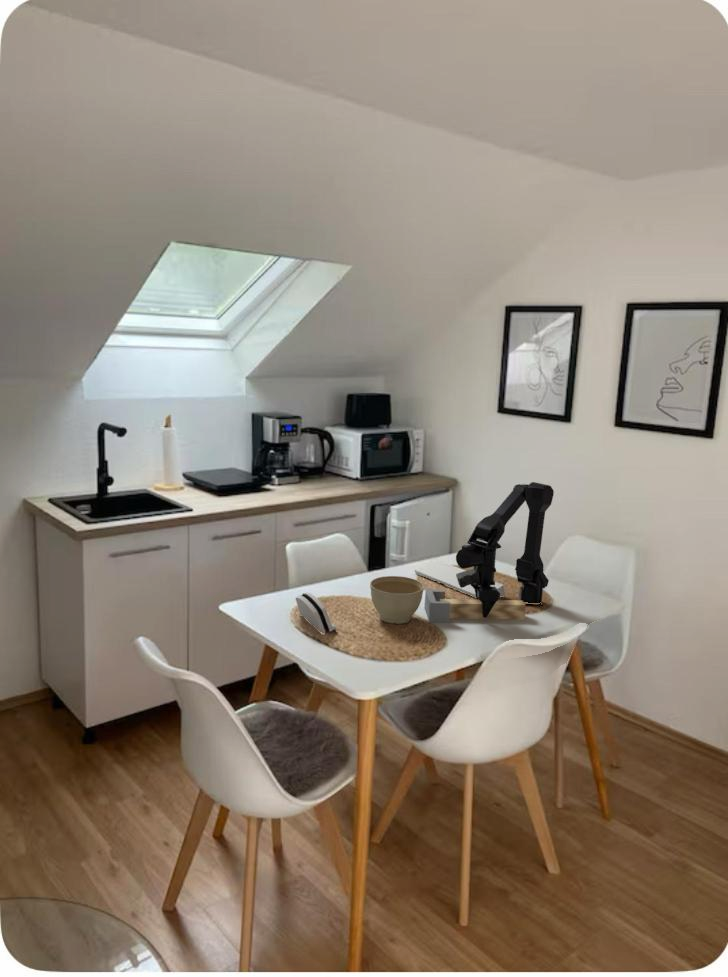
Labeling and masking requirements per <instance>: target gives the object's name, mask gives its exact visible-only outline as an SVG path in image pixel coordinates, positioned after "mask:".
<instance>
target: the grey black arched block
mask: <svg viewBox="0 0 728 977" xmlns="http://www.w3.org/2000/svg"><path fill="white" fill-rule="evenodd" d="M295 601H296V604H297V607H298V612H299V615H300V614H301V615H302V616H303V617H305V618H306V619H307V620H308V621H309V622H310V623H311V624H312V625H313V626H315V627H316V628H317V629H318V630H319V631H320V632H322V633H325V632H326V633H327V632H330V633H331V632H332V631H334V630H335V631H338V628H337V626H336V625H334V623H332V622H331V619H330V616H329V613H328V611H327V608H326V607H325V606H324V605H323V603H322V602H321V601H320V600H319V599H318V598H317V597H316V596H315V595H314V594H312V593H311V592H308V591H307V592H306V591H305V592H303V593H302V594H300V595H297V596H296V597H295ZM301 615H300V616H301ZM302 616H301V617H302ZM303 617H302V618H303ZM311 624H310V625H311ZM312 625H311V626H312ZM313 626H312V627H313ZM335 631H334V632H335Z"/></svg>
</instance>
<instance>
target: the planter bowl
mask: <svg viewBox="0 0 728 977" xmlns="http://www.w3.org/2000/svg"><path fill="white" fill-rule="evenodd" d="M369 587H370V597H371V601H372V604H373V606H374V609H375V610H376V612H377V613H378V616H379V619H380V620H381V621H383V622H385V623H388V624H394V623H395V624H396V625H398V624H401V625H402V624H407V623H409V622H410V621H411V620H412V616H413V615H414V614H415V613H417V612H416V611H417V610H418V609H419V607H420V606H421V605H420V604H421V603H422V599H423V592H424V591H425V586H424V584H423V583H422V582H421V581H420V580H417V579H415V578H412V577H408V576H400V575H399V576H398V575H388V576H387V575H385V576H380V577H377V578H373V579H372V580H371V581H370V583H369ZM395 624H394V625H395Z"/></svg>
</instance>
